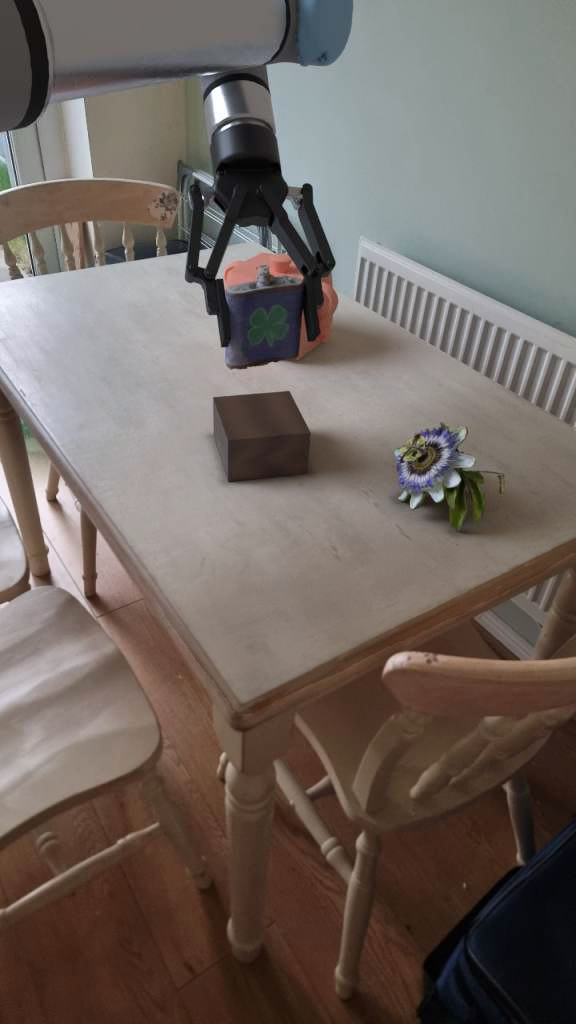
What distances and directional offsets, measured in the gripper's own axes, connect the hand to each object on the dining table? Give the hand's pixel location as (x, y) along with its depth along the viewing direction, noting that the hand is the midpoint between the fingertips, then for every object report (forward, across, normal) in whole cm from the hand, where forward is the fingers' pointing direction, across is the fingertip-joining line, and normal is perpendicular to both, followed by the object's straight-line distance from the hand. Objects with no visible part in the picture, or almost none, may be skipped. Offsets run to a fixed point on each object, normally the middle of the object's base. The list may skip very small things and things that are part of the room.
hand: (270, 340), depth 75 cm
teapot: (-11, -8, -36) cm, 38 cm away
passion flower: (+19, -19, -6) cm, 28 cm away
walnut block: (+10, 0, -15) cm, 18 cm away
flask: (+1, 0, -5) cm, 5 cm away
